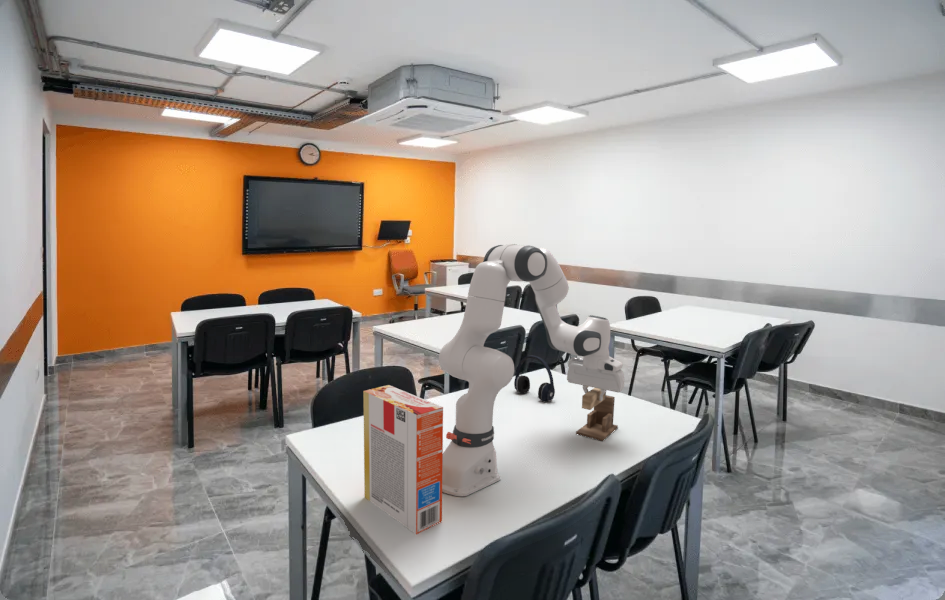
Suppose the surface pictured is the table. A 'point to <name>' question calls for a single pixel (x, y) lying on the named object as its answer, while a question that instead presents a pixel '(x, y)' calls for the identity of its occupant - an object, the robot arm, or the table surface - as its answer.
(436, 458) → the pasta box
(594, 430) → the wooden chair
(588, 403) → the bed rail
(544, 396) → the headphones
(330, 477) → the table surface
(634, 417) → the table surface
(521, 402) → the table surface
